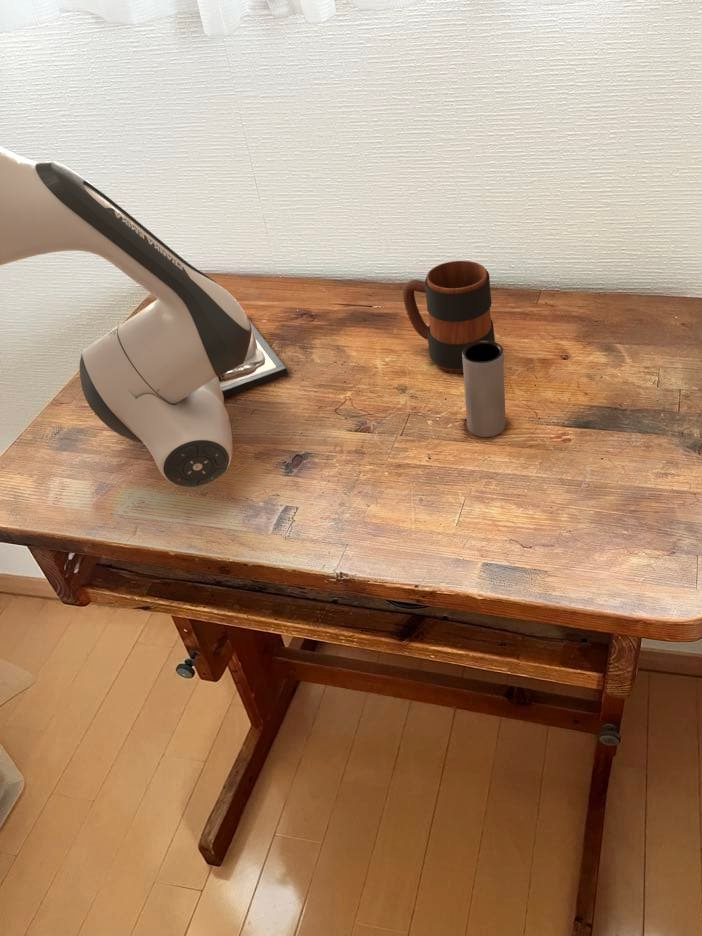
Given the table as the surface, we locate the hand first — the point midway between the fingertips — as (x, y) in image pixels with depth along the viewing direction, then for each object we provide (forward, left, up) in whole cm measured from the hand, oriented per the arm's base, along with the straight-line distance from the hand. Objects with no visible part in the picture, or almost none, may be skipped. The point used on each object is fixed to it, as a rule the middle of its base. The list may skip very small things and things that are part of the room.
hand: (172, 333), depth 109 cm
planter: (+28, -33, -7) cm, 44 cm away
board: (+2, +1, -7) cm, 7 cm away
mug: (+32, -17, -7) cm, 37 cm away
